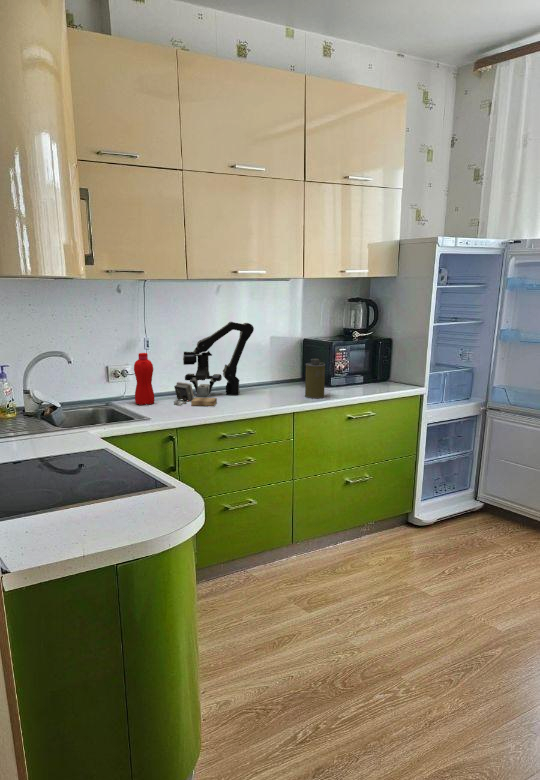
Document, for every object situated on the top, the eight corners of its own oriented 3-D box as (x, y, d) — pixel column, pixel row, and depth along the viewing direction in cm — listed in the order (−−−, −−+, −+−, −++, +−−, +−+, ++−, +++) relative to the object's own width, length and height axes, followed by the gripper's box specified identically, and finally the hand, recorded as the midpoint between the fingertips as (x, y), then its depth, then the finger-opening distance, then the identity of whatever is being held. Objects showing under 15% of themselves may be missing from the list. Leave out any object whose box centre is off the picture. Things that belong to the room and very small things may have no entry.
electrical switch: (195, 400, 280) (193, 382, 277) (188, 403, 275) (186, 385, 273) (181, 398, 285) (179, 381, 282) (174, 401, 280) (172, 383, 278)
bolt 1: (182, 405, 268) (182, 402, 267) (180, 406, 267) (180, 402, 266) (176, 404, 271) (176, 400, 270) (173, 404, 270) (173, 401, 269)
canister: (312, 399, 284) (313, 361, 280) (300, 395, 292) (301, 358, 288) (329, 397, 289) (330, 359, 286) (317, 393, 298) (318, 357, 294)
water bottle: (153, 400, 279) (151, 351, 274) (155, 404, 269) (153, 354, 264) (134, 401, 277) (132, 351, 272) (135, 405, 267) (133, 354, 262)
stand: (216, 403, 274) (216, 398, 273) (213, 406, 266) (213, 401, 265) (195, 402, 275) (194, 397, 274) (191, 406, 267) (191, 400, 266)
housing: (210, 393, 296) (210, 383, 295) (207, 397, 288) (207, 386, 287) (200, 393, 297) (200, 383, 296) (196, 397, 288) (196, 386, 287)
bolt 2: (186, 403, 273) (186, 400, 272) (186, 404, 271) (186, 400, 271) (176, 403, 271) (176, 400, 271) (176, 404, 270) (176, 401, 270)
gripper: (181, 366, 282) (182, 395, 285) (217, 366, 280) (218, 396, 283) (187, 363, 293) (187, 391, 296) (221, 363, 291) (222, 392, 294)
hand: (203, 393), depth 292 cm, fingers open, 6 cm apart
